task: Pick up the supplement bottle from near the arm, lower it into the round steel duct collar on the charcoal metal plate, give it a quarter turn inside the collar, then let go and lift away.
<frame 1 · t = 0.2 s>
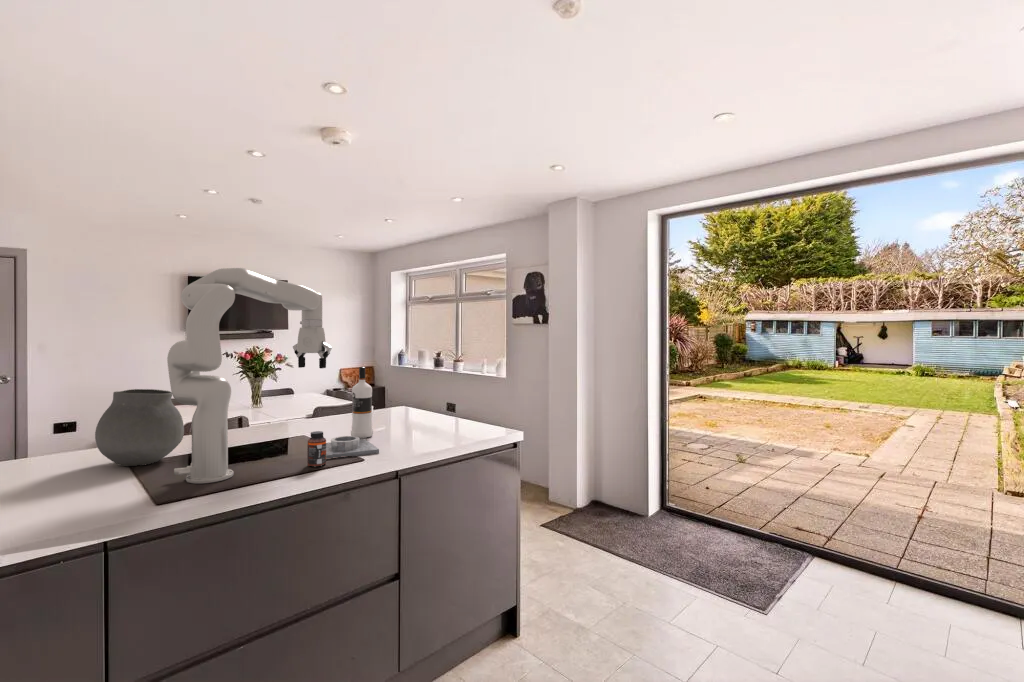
hand: (312, 367, 196), 31 cm above the table, tool pointing down, fingers open, 9 cm apart
ceramic pot: (141, 463, 171), on the table
vodka: (362, 436, 215), on the table
supplement bottle: (316, 465, 170), on the table
duct plate: (345, 450, 190), on the table
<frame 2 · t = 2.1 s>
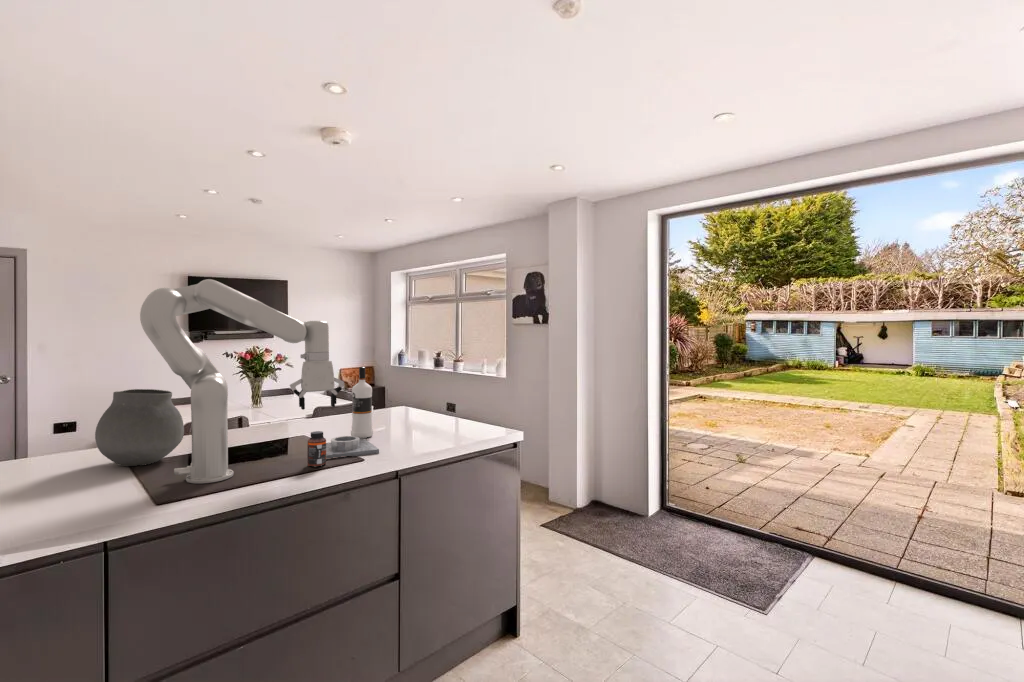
hand: (318, 407, 169), 20 cm above the table, tool pointing down, fingers open, 9 cm apart
nothing on the table moved.
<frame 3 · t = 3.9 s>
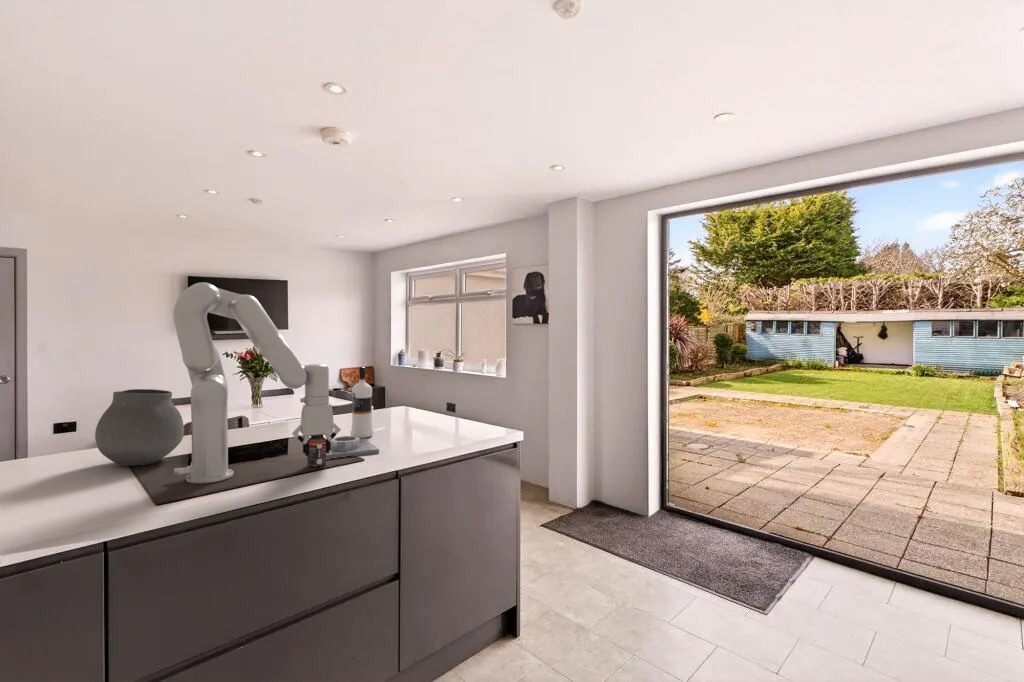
hand: (316, 453, 170), 4 cm above the table, tool pointing down, fingers closed on supplement bottle, 6 cm apart
supplement bottle: (316, 465, 170), on the table, touching gripper
everything else where it was.
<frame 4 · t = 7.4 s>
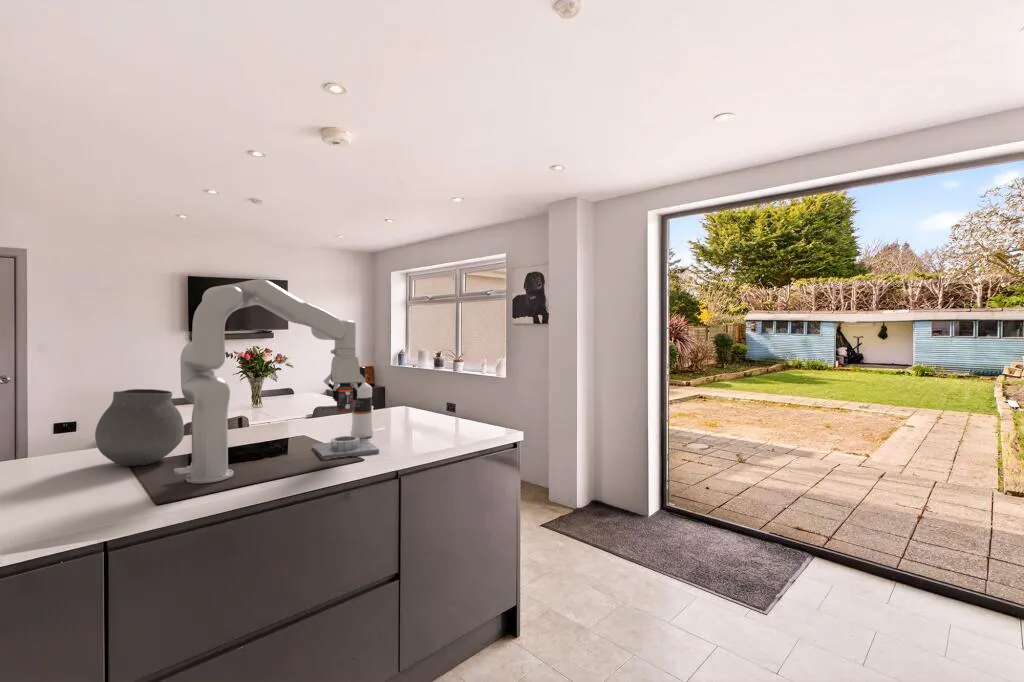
hand: (345, 400, 190), 19 cm above the table, tool pointing down, fingers closed on supplement bottle, 6 cm apart
supplement bottle: (345, 411, 190), point 15 cm above the table, touching gripper
everything else where it was.
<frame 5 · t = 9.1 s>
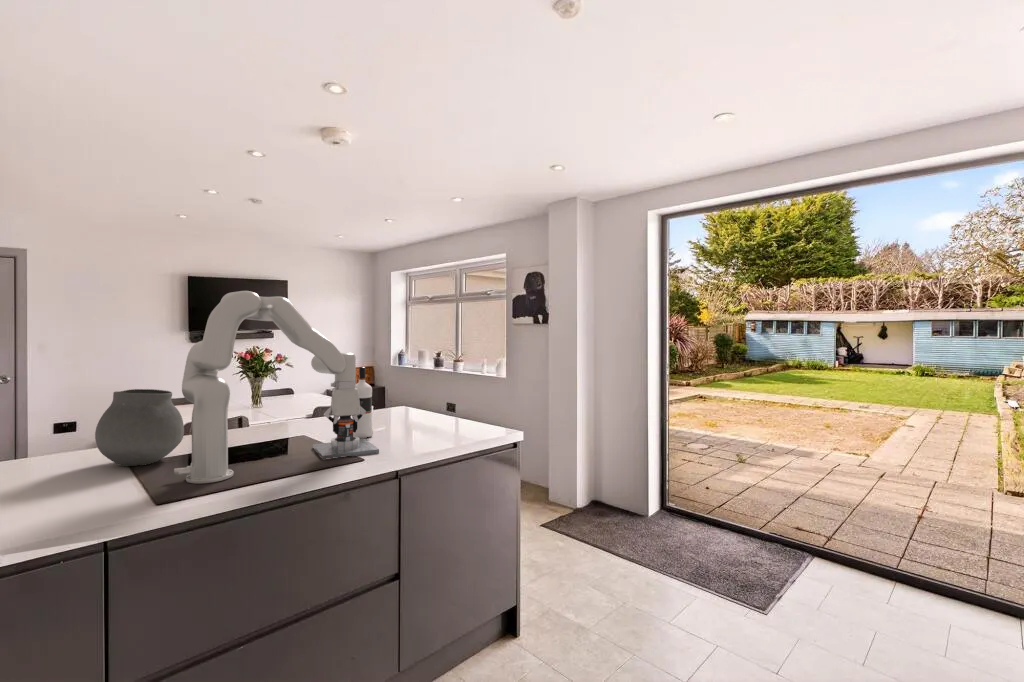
hand: (345, 432, 190), 7 cm above the table, tool pointing down, fingers closed on supplement bottle, 6 cm apart
supplement bottle: (345, 443, 190), point 3 cm above the table, touching gripper
everything else where it was.
when the fingers open (6 cm above the table, at t = 10.7 s): supplement bottle stays where it is, resting on duct plate.
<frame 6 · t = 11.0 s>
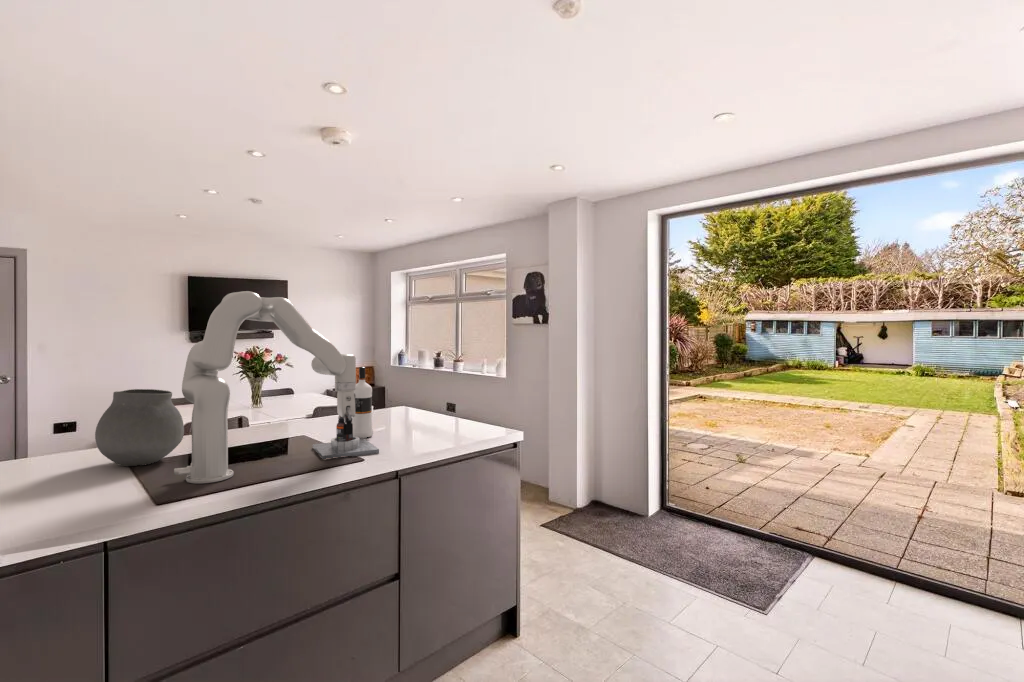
hand: (345, 431, 190), 7 cm above the table, tool pointing down, fingers open, 8 cm apart
supplement bottle: (344, 447, 190), point 1 cm above the table, touching duct plate
everything else where it was.
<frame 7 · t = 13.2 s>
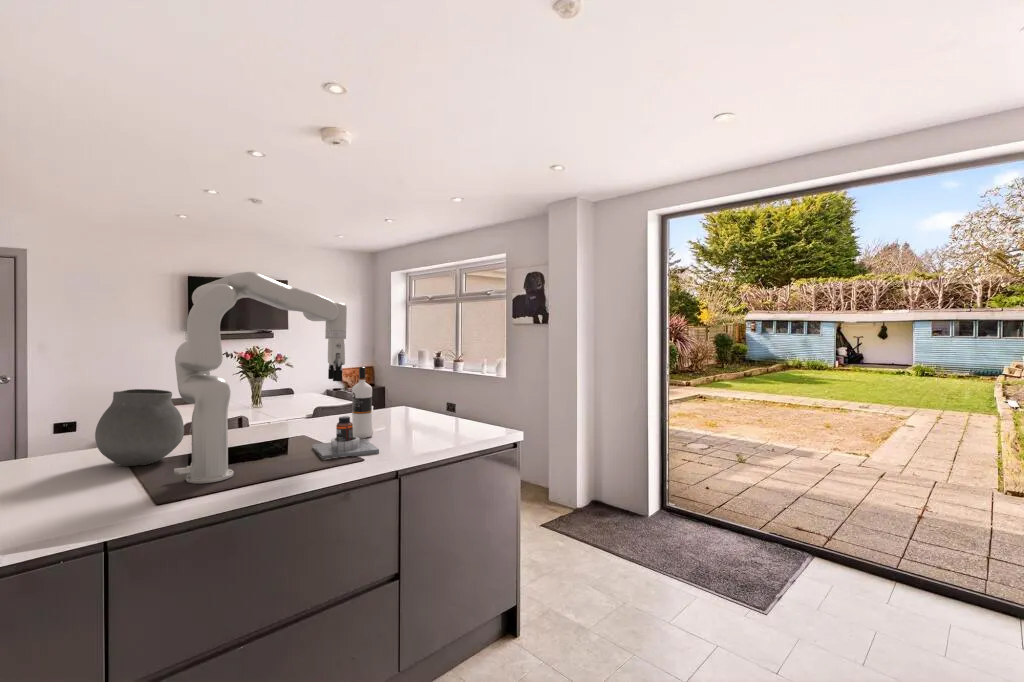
hand: (335, 380, 191), 27 cm above the table, tool pointing down, fingers open, 9 cm apart
nothing on the table moved.
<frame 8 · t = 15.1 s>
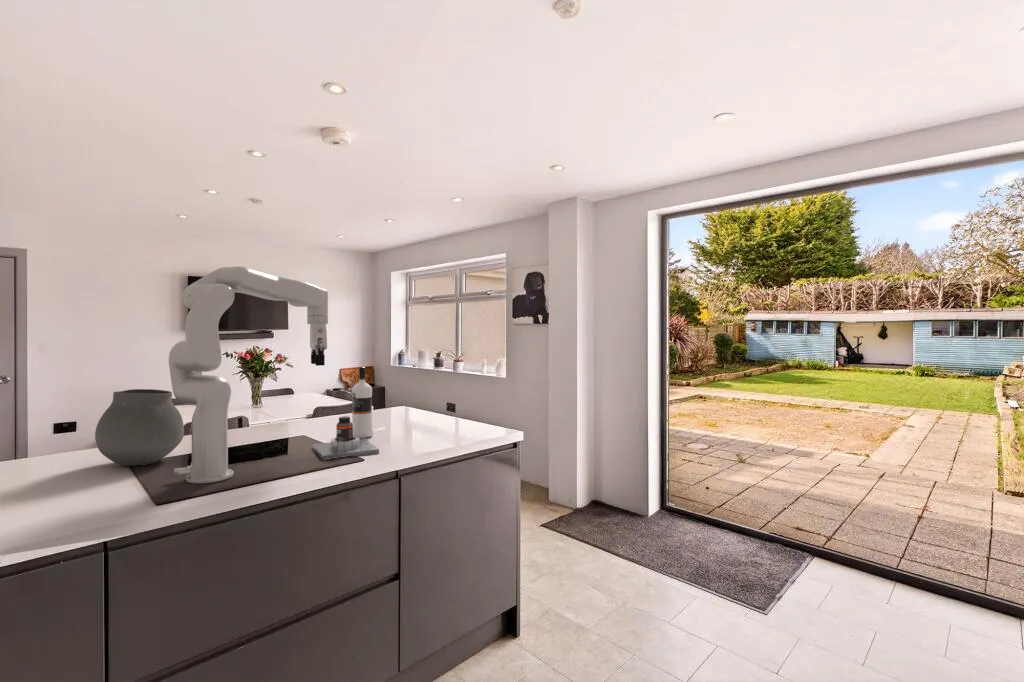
hand: (317, 364, 195), 32 cm above the table, tool pointing down, fingers open, 9 cm apart
nothing on the table moved.
at the end: supplement bottle 0.2 cm off-centre on the duct plate, point 1.3 cm above the duct plate's base; supplement bottle tilted 0°; the gripper is holding nothing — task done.
